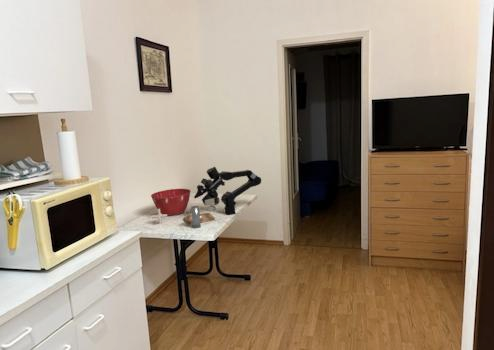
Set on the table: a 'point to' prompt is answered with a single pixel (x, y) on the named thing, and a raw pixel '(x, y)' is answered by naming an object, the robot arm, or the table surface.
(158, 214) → the pipe connector
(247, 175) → the robot arm
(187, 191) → the mixing bowl
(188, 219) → the mounting plate
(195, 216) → the steel hub
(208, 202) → the pneumatic valve
